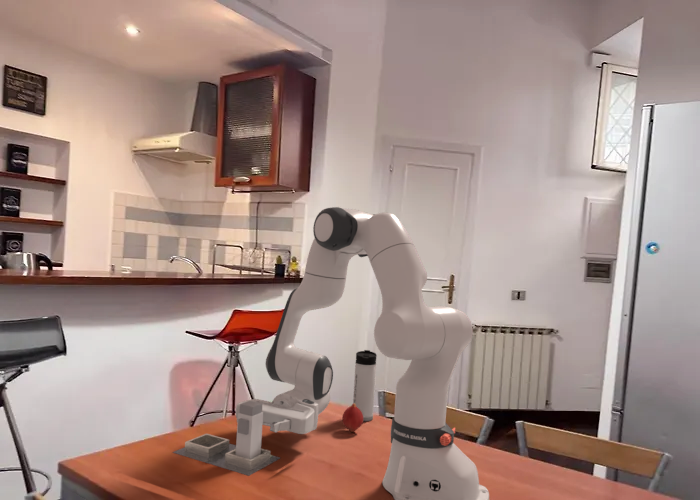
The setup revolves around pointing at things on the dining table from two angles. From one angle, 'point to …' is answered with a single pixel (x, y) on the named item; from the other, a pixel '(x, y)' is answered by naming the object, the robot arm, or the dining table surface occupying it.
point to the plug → (249, 430)
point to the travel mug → (365, 383)
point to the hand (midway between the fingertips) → (255, 424)
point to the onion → (352, 418)
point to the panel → (224, 454)
